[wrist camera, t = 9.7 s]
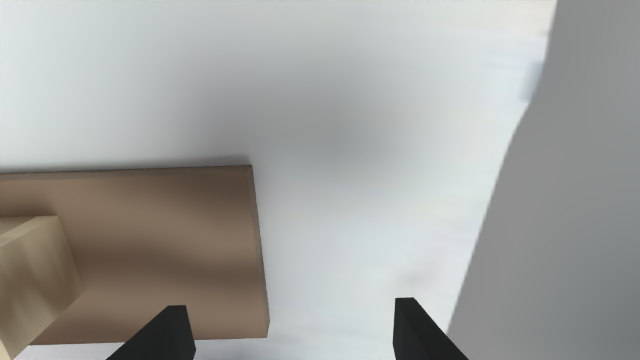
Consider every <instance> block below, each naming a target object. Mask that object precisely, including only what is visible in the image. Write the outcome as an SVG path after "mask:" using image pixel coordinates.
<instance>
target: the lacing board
mask: <svg viewBox="0 0 640 360" xmlns="http://www.w3.org/2000/svg"><path fill="white" fill-rule="evenodd" d="M32 216H58V218H59V220H60V223H61V226H62V229H63V231H64V234H65V237H66V239H67V242H68V245H69V248H70V250H71V253H72V256H73V259H74V261H75V264H76V267H77V269H78V272H79V275H80V278H81V280H82V283H83V286H84V289H85V292H84V293H83V294H82V295H81V296H80V297H79V298H78V299H76V300H75V301H74V302H73V303H72V304H71V305H70V306H69V307H68V308H67V309H66V310H65V311H64V312H63V313H62V314H61V315H60V316H58V317H57V318H56V319H55V320H54V321H53V322H52V323H51V324H50V325H49V326H48V327H47V328H46V329H45V330H44V331H43V332H42V333H40V334H39V335H38V336H37V337H36V338H35V339H34V340H33V341H32V342H31V343H30V344H29V345H54V344H86V343H117V342H127V341H128V340H129V339H130V338H131V337H133V336H134V335H135V334H136V333H137V332H138V331H139V330H140V329H142V328H143V327H144V326H145V325H146V324H147V323H148V322H149V321H151V320H152V319H153V318H154V317H155V316H156V315H157V314H159V313H160V312H161V311H162V310H163V309H165V308H166V307H167V306H168V305H186V308H187V313H188V317H189V321H190V326H191V330H192V334H193V339H194V340H210V339H242V338H267V333H268V328H269V323H270V318H269V309H268V300H267V292H266V283H265V274H264V266H263V257H262V248H261V240H260V231H259V222H258V213H257V205H256V196H255V187H254V179H253V170H252V165H240V166H212V167H183V168H155V169H126V170H98V171H69V172H41V173H12V174H0V218H6V217H32Z"/></svg>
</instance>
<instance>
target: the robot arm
mask: <svg viewBox="0 0 640 360" xmlns="http://www.w3.org/2000/svg"><path fill="white" fill-rule="evenodd" d="M393 348H394V353H395V357H396V360H469V359H468V358H467V357H466V356H465V355H464V354H463V353H462V352H461V351H460V350H459V349H458V348H457V347H456V346H455V344H454V343H453V342H452V341H451V340H450V339H449V338H448V337H447V336H446V335H445V334H444V332H443V331H442V330H441V329H440V328H439V327H438V326H437V324H436V323H435V322H434V321H433V320H432V319H431V317H430V316H429V315H428V314H427V313H426V311H425V310H424V309H423V308H422V307H421V305H420V304H419V303H418V302H417V300H416V299H414V298H413V297H412V298H395V314H394V331H393ZM195 352H196V347H195V343H194V339H193V334H192V330H191V326H190V321H189V317H188V313H187V308H186V305H168V306H167V307H166V308H165V309H163V310H162V311H161V312H160V313H159V314H157V315H156V316H155V317H154V318H153V319H152V320H151V321H149V322H148V323H147V324H146V325H145V326H144V327H143V328H142V329H140V330H139V331H138V332H137V333H136V334H135V335H134V336H133V337H131V338H130V339H129V340H128V341H127V342H126V343H124V344H123V345H122V346H121V347H120V348H119V349H118V350H116V351H115V352H114V353H113V354H112V355H111V356H109V357H108V358H107V359H106V360H193V359H194V355H195Z"/></svg>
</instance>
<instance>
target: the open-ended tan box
mask: <svg viewBox="0 0 640 360" xmlns="http://www.w3.org/2000/svg"><path fill="white" fill-rule="evenodd" d="M84 292H85V289H84V286H83V283H82V280H81V278H80V275H79V272H78V269H77V267H76V264H75V261H74V259H73V256H72V253H71V250H70V248H69V245H68V242H67V239H66V237H65V234H64V231H63V229H62V226H61V223H60V220H59V218H58V216H32V217H6V218H0V360H13V359H14V358H15V357H16V356H17V355H18V354H19V353H20V352H21V351H22V350H24V349H25V348H26V347H27V346H28V345H29V344H30V343H31V342H32V341H33V340H34V339H35V338H36V337H37V336H38V335H39V334H40V333H42V332H43V331H44V330H45V329H46V328H47V327H48V326H49V325H50V324H51V323H52V322H53V321H54V320H55V319H56V318H57V317H58V316H60V315H61V314H62V313H63V312H64V311H65V310H66V309H67V308H68V307H69V306H70V305H71V304H72V303H73V302H74V301H75V300H76V299H78V298H79V297H80V296H81V295H82V294H83V293H84Z"/></svg>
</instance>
